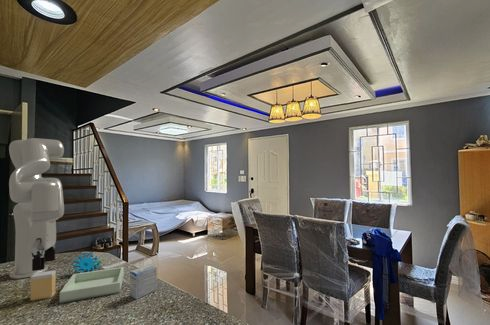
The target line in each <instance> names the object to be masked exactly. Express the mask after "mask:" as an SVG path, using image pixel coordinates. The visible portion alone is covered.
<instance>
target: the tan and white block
mask: <svg viewBox="0 0 490 325" xmlns="http://www.w3.org/2000/svg"><path fill="white" fill-rule="evenodd" d="M56 274H57V273H56V269H55V270H46V271H45V272H40V273H35V274H34V275H33V276H31V277H30V290H29V292H30V293H29V294H30V295H29V296H30V297H29V298H30V299H29V300H30V301H36V300H43V299H48V298H53V296H54V295H55V294H56V278H57V277H56V276H57V275H56Z"/></svg>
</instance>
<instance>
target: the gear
mask: <svg viewBox="0 0 490 325" xmlns="http://www.w3.org/2000/svg"><path fill="white" fill-rule="evenodd" d="M88 255H89V254H88V253H84V255H83V254H79V255H78V257H77V258H75V259H74V261H73V262H74V264H73V265H72V268H74V272H75V273H78V272H79V271H80V272H79V273H85V272H92V271H96V270H97V269H98V268H99V267H100V264H101V263H102V262H103V259H98V256H94V254H93V253H90V255H89V256H88ZM82 257H83V258H82ZM95 269H96V270H95ZM90 270H91V271H90Z"/></svg>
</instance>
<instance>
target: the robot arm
mask: <svg viewBox="0 0 490 325" xmlns="http://www.w3.org/2000/svg"><path fill="white" fill-rule="evenodd" d="M8 151H9V156H10V160H11V162H12V164H13V166H14V168H15V170H14V171H13V172H12V173H10V174H11V175H10V177H9V181H8V187H9V191H8V192H9V197H10V199H11V201H12V202H14V203H17V204H15V205H14V207H13V218H14V227H15V243H14V244H15V246H14V270H13V271H11V272H10V273H9V278H10V279H15V280H17V279H24V278H25V279H26V278H29V277H30V278H31V276H33V275H34V274H35V273H40V272H47V271H48V269H49V266H48V265H46V264H45V263H47V262H53V261H55V260H56V242H57V223H56V222H57V220H59V219H60V218H62V217H63V216H64V214H65V204H64V200H65V199H64V192H63V184H62V182H61V180H60V179H59V178H57V177H42V174H44V173H45V172H47V171H48V170H49V169H50V168H51V161H50V159H51V160H58V159H61V158H63V156H64V153H65V147H64V144H63V143H62V142H61V141H60V140H58V139H52V138H51V139H49V138H38V137H37V138H35V137H31V138H26V139H17V140H12V141H11V142H10V143H9V146H8Z"/></svg>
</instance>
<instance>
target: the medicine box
mask: <svg viewBox="0 0 490 325" xmlns="http://www.w3.org/2000/svg"><path fill="white" fill-rule="evenodd" d="M157 271H158V270H157V266H154V265H152V264H146V265H145V266H141V267H139V268H136V269H134V270H131V271H130V272H129V276H130V277H129V296H130V297H132V298H133V299H134V300H138V299H140V298H143V297H145V296H146V295H149V294H151V293H153V292H156V291H157V290H158V289H157V288H158V287H157V284H158V283H157V281H158V280H157V278H158V277H157V274H158V273H157Z"/></svg>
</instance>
